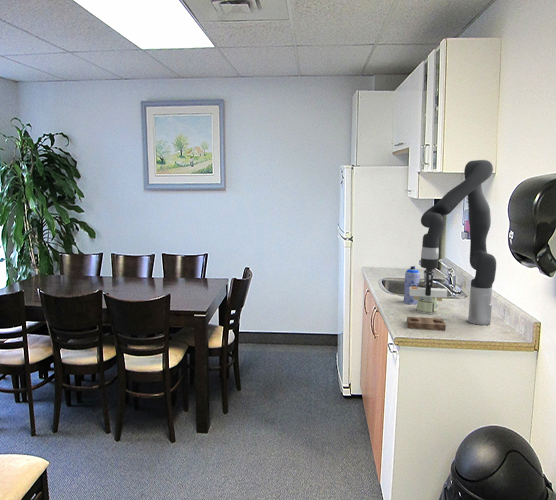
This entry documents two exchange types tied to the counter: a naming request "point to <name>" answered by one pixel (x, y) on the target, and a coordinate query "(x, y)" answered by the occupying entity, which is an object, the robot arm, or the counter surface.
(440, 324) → the mounting board
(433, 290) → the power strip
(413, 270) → the aerosol can
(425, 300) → the coffee can
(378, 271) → the counter surface
